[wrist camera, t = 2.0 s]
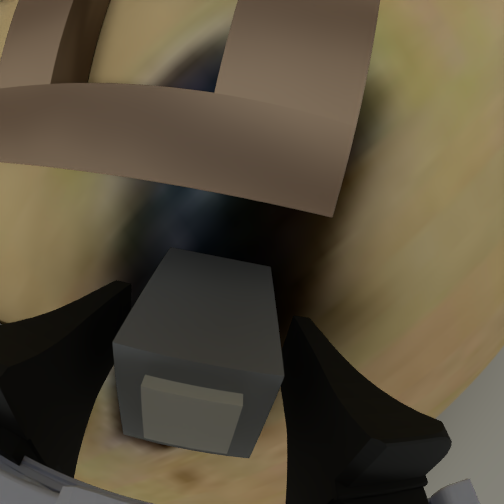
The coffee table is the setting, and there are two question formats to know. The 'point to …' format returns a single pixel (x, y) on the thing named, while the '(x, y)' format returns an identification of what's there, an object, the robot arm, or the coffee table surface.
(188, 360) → the plug
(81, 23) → the socket board
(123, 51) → the coffee table surface
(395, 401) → the robot arm
